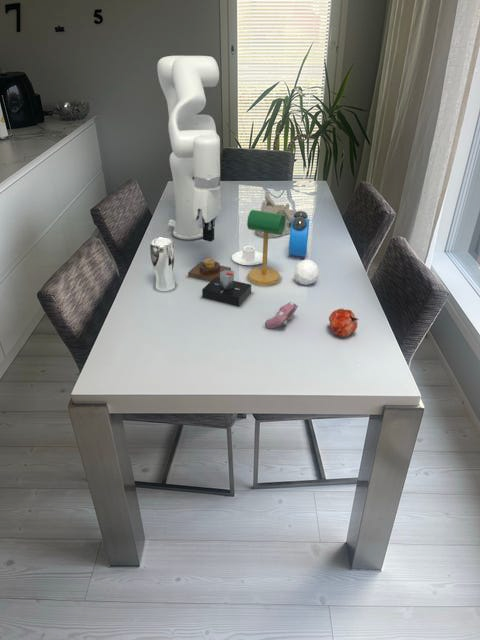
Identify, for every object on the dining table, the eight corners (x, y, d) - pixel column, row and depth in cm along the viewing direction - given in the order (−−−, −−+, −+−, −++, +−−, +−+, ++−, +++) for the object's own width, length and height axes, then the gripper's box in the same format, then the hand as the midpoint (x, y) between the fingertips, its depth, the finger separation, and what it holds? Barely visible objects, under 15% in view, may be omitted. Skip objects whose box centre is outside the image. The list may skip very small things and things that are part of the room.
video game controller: (275, 336, 123) (287, 320, 118) (262, 325, 124) (273, 309, 119) (291, 319, 130) (303, 304, 125) (279, 309, 131) (290, 293, 126)
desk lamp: (243, 282, 146) (244, 215, 134) (255, 269, 153) (257, 205, 141) (272, 288, 142) (276, 220, 130) (283, 275, 150) (288, 210, 138)
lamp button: (202, 267, 147) (201, 262, 146) (207, 262, 150) (207, 257, 149) (212, 269, 146) (211, 264, 145) (217, 264, 149) (217, 259, 148)
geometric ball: (309, 292, 146) (317, 282, 138) (287, 281, 146) (293, 270, 139) (318, 274, 149) (326, 262, 141) (296, 263, 149) (303, 251, 141)
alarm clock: (305, 263, 157) (309, 221, 149) (287, 261, 158) (290, 220, 150) (306, 247, 168) (310, 208, 160) (290, 246, 169) (292, 207, 161)
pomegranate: (322, 341, 123) (348, 336, 114) (316, 314, 123) (341, 308, 114) (343, 335, 127) (369, 330, 118) (336, 310, 127) (362, 303, 118)
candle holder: (248, 249, 167) (249, 238, 164) (273, 259, 160) (274, 248, 157) (224, 259, 160) (224, 247, 157) (249, 270, 153) (249, 258, 150)
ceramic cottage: (251, 235, 177) (255, 197, 169) (260, 222, 191) (264, 186, 183) (291, 242, 174) (297, 203, 167) (297, 228, 188) (303, 191, 180)
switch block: (188, 276, 148) (187, 267, 146) (201, 265, 155) (201, 256, 153) (218, 284, 144) (218, 274, 143) (231, 272, 151) (231, 262, 149)
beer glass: (158, 294, 139) (153, 248, 130) (150, 284, 144) (146, 239, 136) (179, 289, 141) (176, 243, 133) (171, 279, 147) (168, 235, 138)
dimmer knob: (217, 288, 136) (217, 273, 133) (223, 282, 139) (223, 268, 136) (230, 291, 134) (230, 276, 132) (235, 285, 138) (236, 270, 135)
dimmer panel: (202, 298, 137) (202, 288, 135) (216, 285, 144) (215, 276, 142) (238, 307, 133) (239, 297, 131) (251, 293, 140) (251, 284, 138)
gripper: (207, 173, 140) (209, 229, 151) (183, 186, 129) (186, 246, 139) (230, 176, 138) (229, 233, 148) (206, 190, 126) (208, 251, 137)
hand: (208, 239), depth 144 cm, fingers closed
